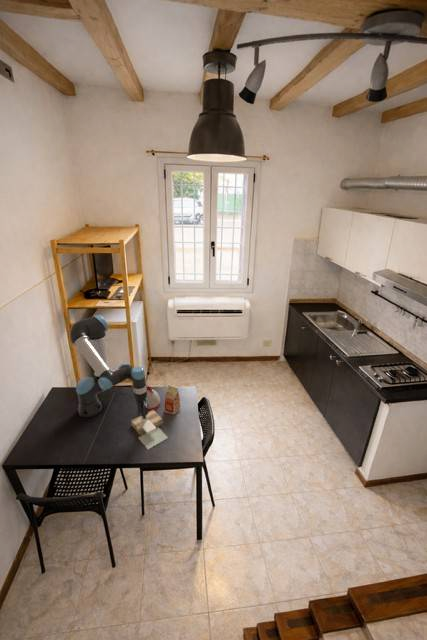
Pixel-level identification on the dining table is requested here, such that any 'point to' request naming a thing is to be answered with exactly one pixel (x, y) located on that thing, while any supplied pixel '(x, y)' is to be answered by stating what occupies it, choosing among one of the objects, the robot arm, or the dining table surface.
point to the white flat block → (148, 427)
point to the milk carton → (172, 400)
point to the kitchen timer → (152, 399)
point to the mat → (153, 438)
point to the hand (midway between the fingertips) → (144, 421)
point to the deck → (151, 416)
